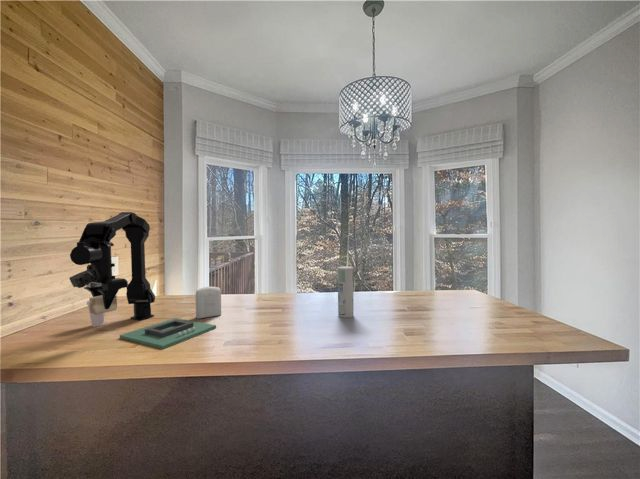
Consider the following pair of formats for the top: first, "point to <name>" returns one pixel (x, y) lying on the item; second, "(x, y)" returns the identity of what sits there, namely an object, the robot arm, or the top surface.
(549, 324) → the top surface
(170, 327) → the socket board
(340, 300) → the spray can
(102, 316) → the smoothie
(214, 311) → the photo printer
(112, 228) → the robot arm
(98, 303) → the plug
